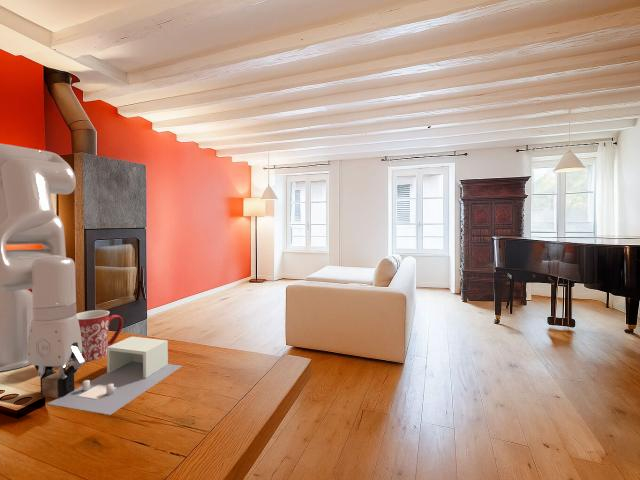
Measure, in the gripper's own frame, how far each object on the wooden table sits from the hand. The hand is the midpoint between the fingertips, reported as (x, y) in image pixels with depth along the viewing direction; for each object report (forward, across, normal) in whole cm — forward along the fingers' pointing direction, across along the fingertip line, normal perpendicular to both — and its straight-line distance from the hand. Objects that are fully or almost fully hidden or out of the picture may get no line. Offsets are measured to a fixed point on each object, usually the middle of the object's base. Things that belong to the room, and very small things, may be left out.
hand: (58, 391), depth 72 cm
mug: (+1, -10, +20) cm, 22 cm away
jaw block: (+1, 0, 0) cm, 1 cm away
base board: (+2, +10, +7) cm, 13 cm away
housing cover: (0, +8, +14) cm, 17 cm away
